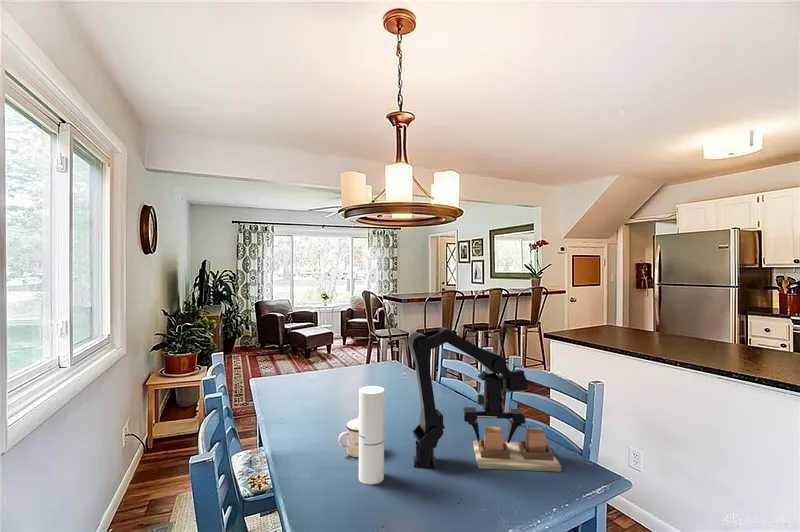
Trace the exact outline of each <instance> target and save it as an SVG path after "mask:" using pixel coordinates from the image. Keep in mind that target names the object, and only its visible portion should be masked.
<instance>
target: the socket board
mask: <svg viewBox="0 0 800 532" xmlns="http://www.w3.org/2000/svg"><path fill="white" fill-rule="evenodd" d="M472 446H473V450H474V455H475V458H476V463H477V466H478V469H483V470H484V469H487V470H489V469H490V470H508V471H509V470H510V471H511V470H512V471H518V470H519V471H531V472H533V471H534V472H535V471H537V472H538V471H539V472H557V473H558V472H560V473H561V472H562V465H561V463H560V462H559V460H558V459H557V457H556V456H555V453H554V452H553V451H552V449H551V448H550V446H549V444H548V443H547V435H546V432H545V431H544V430H543V429H542V427H525V440H518V441H510V442H509V443H507V441H506V440H505V439H503V451H495V450H485V449H484V438H483V439H480V440H479V442H478V440H473V442H472Z"/></svg>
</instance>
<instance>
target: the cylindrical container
mask: <svg viewBox="0 0 800 532" xmlns="http://www.w3.org/2000/svg"><path fill="white" fill-rule="evenodd" d="M358 416H359V458H358V480H359V481H360V482H361V483H362V484H365V485H377V484H380V483H382V482H383V481H384V478H385V388H384V387H382V386H377V385H367V386H363V387H360V388H359V389H358Z"/></svg>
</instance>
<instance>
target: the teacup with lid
mask: <svg viewBox="0 0 800 532" xmlns="http://www.w3.org/2000/svg"><path fill="white" fill-rule="evenodd" d="M346 430H347V431H343V432H341V433H340V434H339V436H338V438H337V439H338V440H337V441H338V444H339V446H340V447H341V448H343V449H346V453H347V455H348V456H350V457H353V458H357V457H358V458H357V459H359V415H358V416H357V418H355V419H352V420H351V419H350V420H349V421H347V424H346ZM344 436H346V439H347V440H346V444H343V443H342V439H343V437H344Z"/></svg>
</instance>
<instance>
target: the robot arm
mask: <svg viewBox="0 0 800 532" xmlns="http://www.w3.org/2000/svg"><path fill="white" fill-rule="evenodd" d="M446 343H447V344H449V345H450V346H452V347H454V348H456V349H457V350H460V351H461V352H462V353H465V354H467V355H468V356H470V357H472V358H473V359H475V361H477V363H479V364H480V365H481V366H483V367H484V369H487V370H488V371H490V373H489V372H486V371H485V370H483V371H481V373H480V374H478V375H477V378H478V379H480V380H481V381H484V385H483V386H484V387H483V388H484V389H483V390H484V392H483V393H484V394H477V396H476V398H477V399H476V402H477V405H479V406H480V405H481V406H482V409H483V411H477V408H476V407H473V406H472V407H471V406H470V407H469V406H465V407H464V408H463V409H462V417H463V420H464V421H463V422H465V423H468V425H470V426H472V429H473V431H474V433H475V437H476V441H478V442H479V440H480V438H481V437H480V429H479V423H478V419H501V420H502V419H503V420H505V419H506V420H507V421H508V425H507V434H506V442H507V443H509V442H511V440H512V438H513V436H514V433H515V432H516V431H517V428H518V427H521V426H522V425H524V424H526V415H525V412H523V410H522V409H521V408H509V410H508V412H507V411H504V390H505V391H506V393H523V392H527V390H528V383H529V382H528V380H527V376H526V375H525V370H523V369H516V370H510V369H509V368H508V366H507V363H506V362H507V361H506V359H505V358H504V357H503V356H502V355H500V354H498V353H497V352H494V351H491V350H489V349H486V348H482V347H480V346H477V345H476V344H474V343H472V342H470V341H468V340H466V339H465V338H463V337H462V336H459V335H457V334H456V333H454V332H453V331H452V330H451V329H449V328H446V327H440V328H438V329H433V330H429V331H424V332H417V331H416V332H415V331H414V332H413V333H411V334H410V335H409V337H408V338H407V346H408V347H409V348H408V349H409V351H410V354H411V356H412V358H413V361H414V365H415V372H416V378H417V384H418V391H419V399H420V404H421V405H420V406H421V409H420V414H419V424H418V425H417V426H416V427H415V428H414V430H412V434H413V437H414V439H415V440H416V441H415V455H414V458H413V459H414V460H413V467H414V468H430V469H431V468H432V469H435V468H436V467H437V465H436V456H435V449H436V448H437V446H438V443H439V440H440V439H441V438H442V436H443V435H444V430H445V429H446V426H445V425H444V415H443V414H442V412H441V411H440V410H439V409H438V408H436V403H435V398H434V397H435V396H434V390H433V389H434V388H433V382H432V374H431V367H430V361H431V357H432V356H431V355H432V349H436V348H437V347H440V346H442V345H443V344H446Z"/></svg>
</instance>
